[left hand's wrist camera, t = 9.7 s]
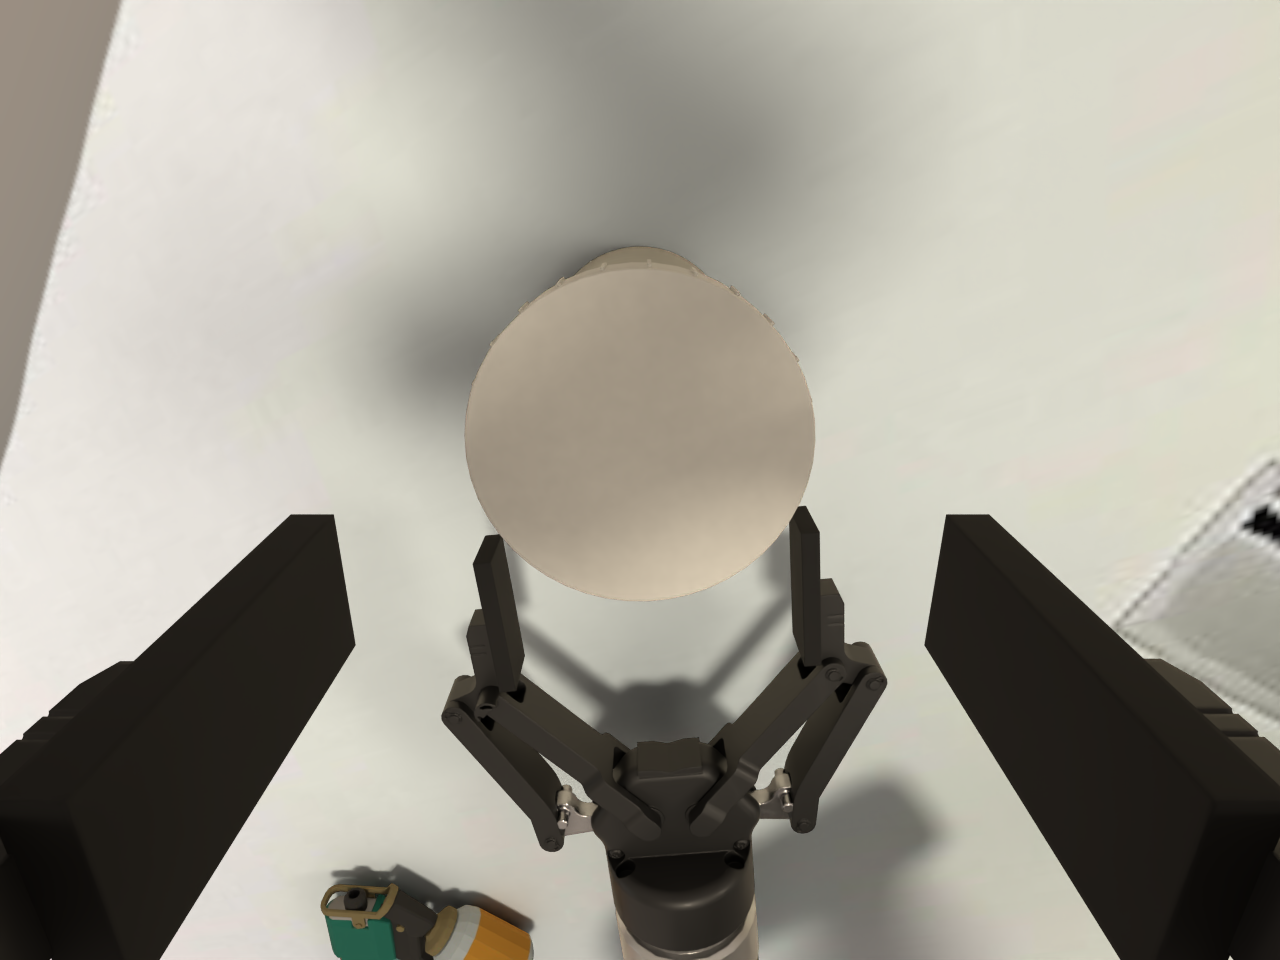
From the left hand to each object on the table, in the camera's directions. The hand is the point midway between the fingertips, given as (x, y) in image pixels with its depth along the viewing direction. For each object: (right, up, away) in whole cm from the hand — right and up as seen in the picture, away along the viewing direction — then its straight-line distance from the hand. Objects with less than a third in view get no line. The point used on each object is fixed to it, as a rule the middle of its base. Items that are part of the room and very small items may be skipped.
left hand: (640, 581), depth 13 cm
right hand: (0, 0, +18) cm, 18 cm away
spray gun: (-14, -31, +37) cm, 51 cm away
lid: (0, +3, +7) cm, 8 cm away
